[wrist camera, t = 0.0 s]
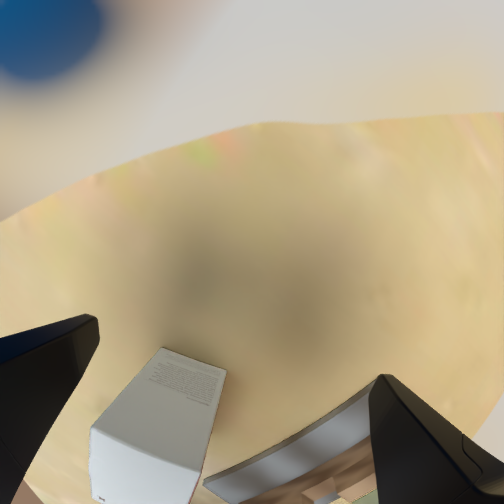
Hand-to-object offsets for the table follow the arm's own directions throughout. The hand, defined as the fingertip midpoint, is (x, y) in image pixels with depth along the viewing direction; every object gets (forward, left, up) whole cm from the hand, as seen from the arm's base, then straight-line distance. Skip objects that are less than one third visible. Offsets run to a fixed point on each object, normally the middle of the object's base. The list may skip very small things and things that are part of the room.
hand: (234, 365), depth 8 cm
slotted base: (-7, -20, -15) cm, 27 cm away
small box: (-11, -4, -16) cm, 20 cm away
